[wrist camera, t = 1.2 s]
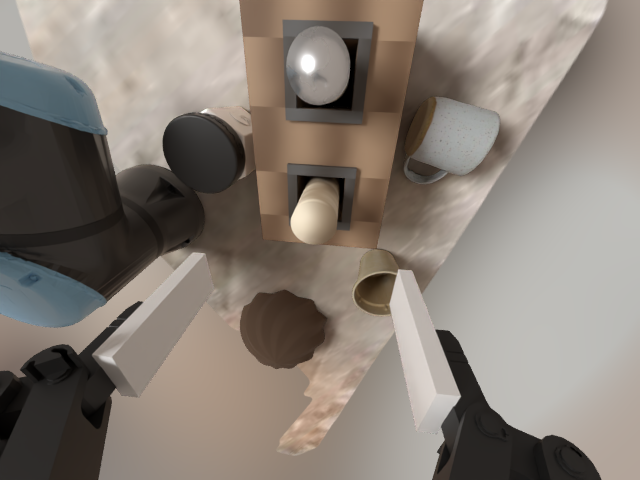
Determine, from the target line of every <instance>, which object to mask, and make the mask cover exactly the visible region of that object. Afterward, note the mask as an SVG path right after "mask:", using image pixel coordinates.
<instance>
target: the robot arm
mask: <svg viewBox="0 0 640 480" xmlns="http://www.w3.org/2000/svg"><path fill="white" fill-rule="evenodd" d="M107 134H108V133H107V129H106V128H105V127H104V126H103V123H102V119H101V116H100V113H99V109H98V106H97V103H96V99H95V97H94V94H93V92H92V91H91V89H90V88H89V87H88V86H87V85H86V84H85V83H84V82H83V81H82V80H80V79H79V78H77V77H76V76H74V75H72V74H70V73H68V72H66V71H63V70H61V69H58V68H55V67H52V66H49V65H45V64H42V63H39V62H36V61H33V60H29V59H26V58H22V57H19V56H16V55H11V54H8V53H5V52H1V51H0V314H3V315H5V316H7V317H10V318H13V319H15V320H18V321H21V322H25V323H28V324H33V325H37V326H43V327H54V328H57V327H65V326H70V325H73V324H75V323H78V322H80V321H81V320H83V319H84V318H85V317H87V316H88V315H89V314H91V313H92V312H93V311H94V310H96V309H97V308H99V307H101V306H104V305H105V304H106V303H107V301H108V300H110V299H111V298H112V297H113V296H114V295H115V294H116V293H117V292H119V291H120V290H121V289H122V288H123V287H124V286H126V285H127V284H128V283H129V282H130V281H131V280H133V279H134V278H135V277H136V276H137V275H138V274H139V273H141V272H142V271H143V270H144V269H145V268H146V267H147V266H148V265H150V264H151V263H152V262H153V261H154V260H155V259H156V258H158V257H159V256H162V255H164V254H167V253H170V252H173V251H176V250H178V249H181V248H184V247H186V246H188V245H189V244H190V243H192V242H193V241H194V240H195V239H196V238H197V237H198V236H199V235H200V233H201V232H202V230H203V227H204V211H203V207H202V205H201V202H200V200H199V198H198V197H197V195H196V193H195V192H194V191H193V189H192V188H190V187H188V186H187V185H185V184H184V183H183V182H181V181H180V180H179V179H178V178H177V177H176V176H175V174H174V173H173V172H171V171H169V170H167V169H165V168H162V167H159V166H155V165H138V166H134V167H131V168H128V169H125V170H123V171H121V172H120V173H118V174H117V175H115V171H114V167H113V163H112V159H111V155H110V150H109V146H108V142H107V138H106V135H107ZM213 290H214V286H213V282H212V278H211V274H210V270H209V266H208V262H207V258H206V254H205V253H194V252H193V253H192V254H191V255H190V256H189V257H188V258H187V259H186V260H185V261H184V262H183V263H182V264H181V265H180V266H179V267H178V268H177V269H176V270H175V271H174V272H173V273H172V274H171V275H170V276H169V277H168V278H167V279H166V280H165V281H164V282H163V283H162V284H161V285H160V286H159V287H158V288H157V289H156V290H155V291H154V292H153V293H152V294H151V295H150V296H149V297H148V298H147V299H146V301H144V302H140V301H138V302H137V303H135V304H133V305H132V306H130V307H129V308H127V309H126V310H125V311H124V312H123V313H122V314H120V315H119V316H118V317H117V320H114V321H113V322H112V323H111V324H110V325H109V327H107V328H106V329H105V330H104V331H103V332H102V333H101V334H100V335H99V336H98V337H97V338H96V339H95V340H93V341H92V342H91V343H90V344H89V345H88V346H87V347H86V348H85V349H84V350H83V351H82V352H81V353H80V354H79V355H77V353H76V352H75V351H74V350H73V349H72V347H70V346H69V345H64V344H62V345H56V346H52V347H50V348H47V349H45V350H43V351H41V352H40V353H38V354H36V355H34V356H33V357H32V358H30V359H29V360H28V361H27V362H26V363H25V364H24V365H23V367H22V368H21V369H20V370H21V371H22V372H23V373H24V374H25V375H26V377H21V378H18V377H17V376H16V375H14V374H13V373H12V372H10V371H0V480H98V478H99V472H100V466H101V460H102V455H103V450H104V444H105V438H106V433H107V427H108V421H109V416H110V410H111V404H112V400H111V397H110V395H111V393H112V392H113V391H114V390H115V388H116V389H117V390H118V391H119V393H120V394H121V395H122V396H129V397H140V396H141V394H142V393H143V391H144V390H145V388H146V387H147V385H148V384H149V382H150V381H151V380H152V378H153V377H154V375H155V374H156V372H157V371H158V369H159V368H160V366H161V365H162V364H163V362H164V361H165V359H166V358H167V356H168V355H169V353H170V352H171V351H172V349H173V348H174V346H175V345H176V343H177V342H178V340H179V339H180V338H181V336H182V334H183V333H184V332H185V330H186V329H187V327H188V326H189V324H190V323H191V322H192V320H193V319H194V317H195V316H196V314H197V313H198V311H199V310H200V308H201V307H202V306H203V304H204V303H205V301H206V300H207V298H208V297H209V295H210V294H211V293H212V291H213ZM389 305H390V310H391V314H392V319H393V324H394V329H395V333H396V338H397V343H398V347H399V352H400V357H401V361H402V366H403V371H404V375H405V379H406V385H407V390H408V394H409V399H410V404H411V408H412V413H413V418H414V422H415V427H416V431H417V432H424V433H432V434H437V433H438V431H439V430H440V428H442V431H443V434H444V438H445V441H444V442H443V444H442V445H441V446H440V448H439V449H438V451H437V453H439V454H440V455H439V458H438V462H437V465H436V469H435V472H434V475H433V479H432V480H601V478H600V475H599V473H598V472H597V470H596V468H595V466H594V464H593V463H592V462H591V461H590V460H589V458H588V457H587V456H586V455H585V454H584V453H583V452H582V451H581V450H580V449H579V448H577V447H576V446H575V445H574V444H572V443H571V442H569V441H567V440H566V439H564V438H562V437H558V436H554V435H550V436H545V437H544V438H543V439H542V440H541V439H538V438H536V437H534V436H532V435H529V434H527V433H525V432H522V431H520V430H518V429H516V428H513V427H512V426H510V425H508V424H507V423H506V422H505V421H504V420H503V419H502V417H501V416H500V415H499V414H498V413H497V412H495V411H494V410H493V409H491V408H490V406H489V405H488V403H487V401H486V399H485V397H484V395H483V393H482V391H481V388H480V386H479V384H478V382H477V380H476V378H475V376H474V374H473V371H472V369H471V367H470V365H469V364H468V361H467V358H466V356H465V355H464V352H463V350H462V348H461V346H460V344H459V342H458V340H457V339H456V338H455V337H454V336H453V335H452V333H451V332H450V331H445V330H435V328H434V326H433V323H432V320H431V318H430V315H429V313H428V310H427V308H426V305H425V302H424V300H423V297H422V295H421V292H420V289H419V287H418V284H417V282H416V279H415V277H414V274H413V271H412V270H400V269H398V273H397V277H396V281H395V284H394V288H393V292H392V296H391V300H390V304H389Z"/></svg>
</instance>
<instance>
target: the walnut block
mask: <svg viewBox="0 0 640 480" xmlns="http://www.w3.org/2000/svg"><path fill="white" fill-rule="evenodd" d="M239 1H240V12H241V22H242V32H243V42H244V53H245V63H246V73H247V83H248V93H249V104H250V114H251V124H252V134H253V145H254V155H255V165H256V175H257V186H258V196H259V206H260V216H261V227H262V237H263V240H275V241H287V242H299V243H305V242H303V241H301V240H300V239H298V238H297V237H296V236H295V234H294V233H293V231H292V228H291V217H292V215H293V212H294V210H295V208H296V206H297V204H298V202H299V200H300V197H301V195H302V193H303V191H304V189H305V187H306V185H307V182H308V180H309V178H310V176H321V177H336V178H344V181H343V187H340V192H339V205H338V218H337V229H336V232H335V234H334V236H333V237H332V238H331V239H330V240H329V241H327V242H325V243H323V245H335V246H347V247H359V248H371V249H377V244H378V238H379V233H380V228H381V222H382V217H383V212H384V207H385V201H386V196H387V191H388V186H389V180H390V175H391V170H392V164H393V159H394V154H395V149H396V143H397V138H398V133H399V127H400V122H401V117H402V112H403V106H404V101H405V96H406V90H407V85H408V80H409V75H410V69H411V64H412V59H413V53H414V48H415V43H416V38H417V32H418V27H419V22H420V17H421V11H422V6H423V1H424V0H239ZM314 26H322V27H327V28H329V29H331V30H333V31H334V32H336V33H337V34H338V35H339V36H340V37H341V39H342V40H343V41H344V43H345V45H346V47H347V50H348V53H349V58H350V60H354V70H353V81H352V92H351V103H350V107H343V106H321V105H313V104H310V103H307V102H305V101H304V100H302V99H301V98H300V97H298V95H297V94H296V93H295V92H294V90H293V89H292V87H291V85H290V83H289V80H288V76H287V69H286V62H287V56H288V52H289V49H290V46H291V44H292V42H293V41H294V39H295V38H296V37H297V36H298V35H299V34H300V33H301V32H302V31H304V30H306V29H308V28H310V27H314Z"/></svg>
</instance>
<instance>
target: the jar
mask: <svg viewBox="0 0 640 480" xmlns="http://www.w3.org/2000/svg"><path fill="white" fill-rule="evenodd" d="M163 152H164V156H165V159H166V161H167V163H168V165H169V167H170V169H171V170H172V172H173V173H174V174H175V176H176V177H177V178H178V179H179V180H180V181H181V182H183V183H184V184H185V185H187V186H188V187H190V188H192V189H194V190H196V191H199V192H203V193H218V192H221V191H223V190H225V189H227V188H228V187H230V186H231V185H232V184H234V183H235V182H236V181H237V180H239V179H242V178H244V177H246V176H247V175H248V174H250V173H251V172H252V171H254V170H255V169H256V165H255V155H254V145H253V134H252V124H251V114H250V113H248V112H247V111H246V110H244V109H243V108H242V107H240V106H234V107H219V108H206V109H204V110H203V111H201V112H197V113H188V114H184V115H181V116H178V117H176V118H175V119H173V120H172V121H171V122H170V123H169V124H168V126H167V127H166V129H165V132H164V135H163Z"/></svg>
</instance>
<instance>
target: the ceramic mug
mask: <svg viewBox="0 0 640 480" xmlns="http://www.w3.org/2000/svg"><path fill="white" fill-rule="evenodd" d="M499 128H500V116H499V114H498V113H497V112H495V111H491V110H487V109H484V108H480V107H477V106H473V105H470V104H466V103H462V102H459V101H456V100H453V99H449V98H445V97H437V96H435V97H430V98H428V99H427V100H425V101H424V102H423V103H422V105H421V106H420V108H419V109H418V111H417V113H416V115H415V117H414V119H413V121H412V123H411V126H410V128H409V131H408V134H407V137H406V141H405V152H406V154H407V155H406V157H405V160H404V173H405V175H406V177H407V178H408V179H409V180H411V181H412V182H415V183H418V184H429V183H433V182H435V181H438V180H439V179H441V178H442V177H444V176H445V175H446V174H447V173H448V172H450V173H452V174H455V175H459V176H462V175H466V174H468V173H470V172H471V171H472V170H474V169H475V168H476V167H477V166H478V165H479V164H480V163H481V162H482V161H483V159H484V158H485V157H486V155H487V154H488V152H489V151H490V149H491V148H492V146H493V144H494V142H495V140H496V137H497V135H498V132H499ZM410 158H413V159H415V160H417V161H420V162H422V163H426V164H429V165H432V166H434V167H437V168H439V169H441V170H440V171H439V172H437V173H436V174H433V175H431V176H421V175H418V174H416V173H414V172H413V171H411V170H409V169H408V168H407V164H408V162H409V160H410Z"/></svg>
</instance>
